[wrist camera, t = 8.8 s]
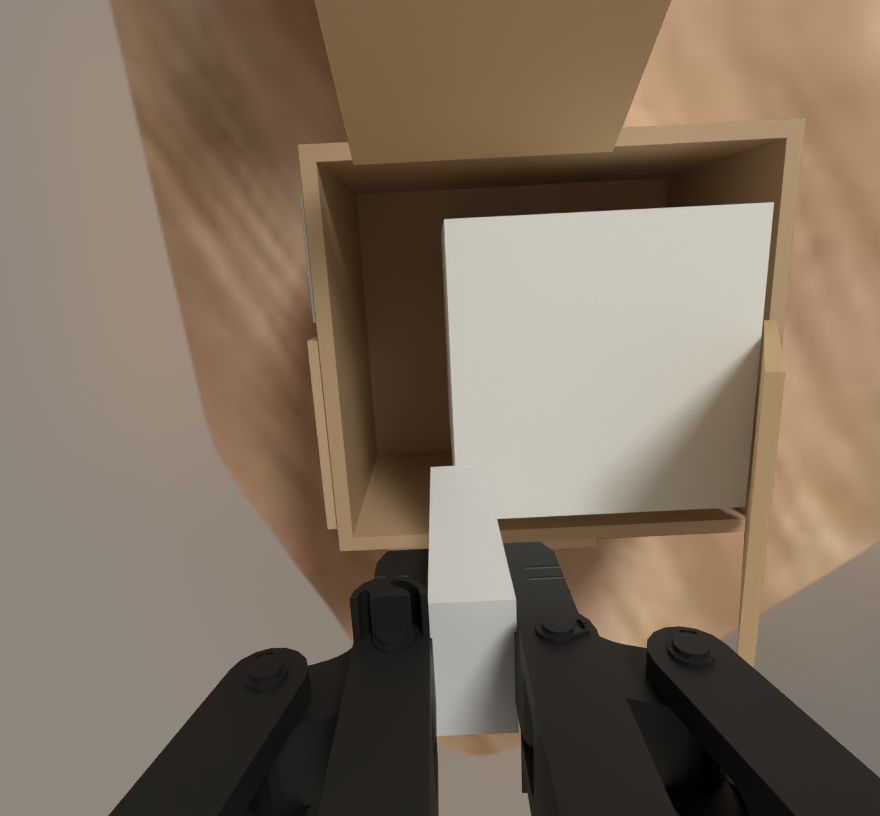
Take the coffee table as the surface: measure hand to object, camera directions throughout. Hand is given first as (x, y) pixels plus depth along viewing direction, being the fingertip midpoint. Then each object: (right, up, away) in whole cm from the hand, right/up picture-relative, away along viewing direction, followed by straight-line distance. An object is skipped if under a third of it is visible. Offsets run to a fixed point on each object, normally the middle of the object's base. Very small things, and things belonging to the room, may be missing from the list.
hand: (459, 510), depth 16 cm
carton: (+4, +8, +17) cm, 19 cm away
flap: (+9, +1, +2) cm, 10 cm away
